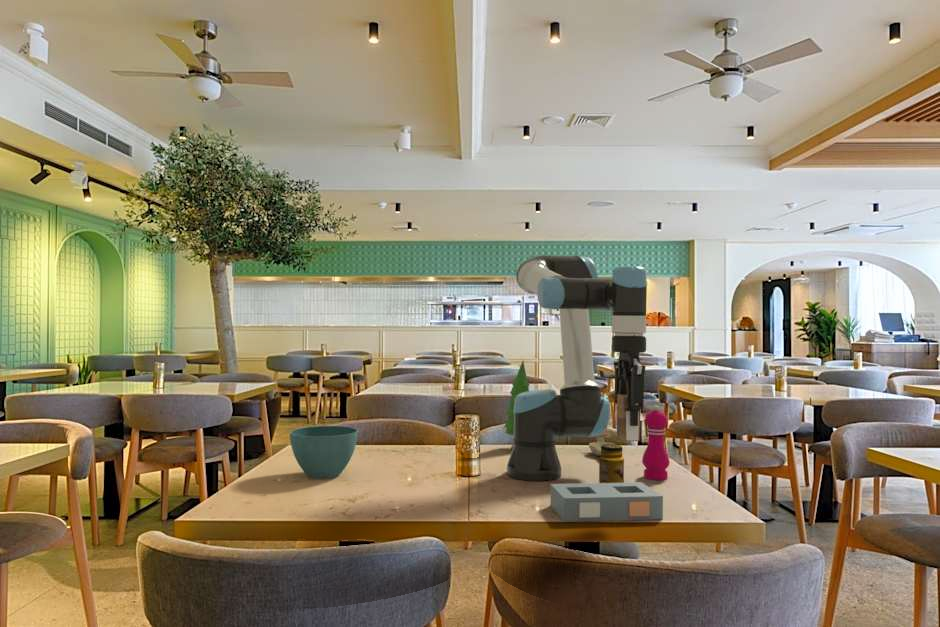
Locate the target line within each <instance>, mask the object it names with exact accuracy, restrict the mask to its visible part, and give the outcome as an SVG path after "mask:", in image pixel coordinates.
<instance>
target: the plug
mask: <svg viewBox="0 0 940 627" xmlns="http://www.w3.org/2000/svg"><path fill="white" fill-rule="evenodd" d="M626 408H628V404H627V394H617V404H616V439H618V440H620V441H622V442H628V441H627V440H626V411H625V409H626ZM641 410H642V409H640V411H639V441H638V442H641V416H642V415H641Z"/></svg>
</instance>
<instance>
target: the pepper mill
mask: <svg viewBox="0 0 940 627" xmlns="http://www.w3.org/2000/svg"><path fill="white" fill-rule="evenodd" d="M644 423H645V425H646V426H647V427H646V434H648V443H647V446H646V448H645V451H643V452H644V453H643V455H642V461H641V463H642V465H643V466H644V468H645V469H644V471H643V477H644V478H646V479H647V480H655V481H663V480H667V479H668V470H667V468H669V466H670V457H669V454H668V452H667V450H666V448H665V444H664V437H665V436H664V435H666V428H665V427H666V426H667V424H668V417H667V415H666V414H665V412H663V411H661V410H660V406H659V405H657V404H655V405H653V407H652V410H651V411H649V412H647V413H646V414H645V417H644Z"/></svg>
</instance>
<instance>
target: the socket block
mask: <svg viewBox="0 0 940 627" xmlns="http://www.w3.org/2000/svg"><path fill="white" fill-rule="evenodd" d="M549 504H550V507H551V508H552V510H554V511H555V513H556V514H557V515H558V517H559V518H560V519H561V520H562V521H563V523H566V522H569V523H571V522H610V521H611V522H612V521H642V520H643V521H645V520H647V521H648V520H649V521H651V520H653V521H654V520H664V514H663V513H664V512H663V511H664V496H663V495H662V494H660V493H659V492H658V491H656V490H654V489H653V488H651V487H650V486H648V485H646V484H645V483H644V482H641V481H640V482H639V481H637V482H636V481H634V482H624V483H599V482H594V483H593V482H587V483H585V482H584V483H550V502H549Z"/></svg>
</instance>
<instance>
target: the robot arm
mask: <svg viewBox="0 0 940 627" xmlns="http://www.w3.org/2000/svg"><path fill="white" fill-rule="evenodd" d="M515 277H516V278H515V279H516V282H517V285H518V286H519V288H521V290H523V291H524V292H525V293H528V294H531V295H536V296H537V302H538V305H539V306H540V307H541V308H542V309H548V310H549V309H550V310H559V324H560V336H561V350H562V351H561V352H562V363H563V364H562V366H563V378H564V384H563V385H562V386H561V388H560V389H559V394H557V392H556V390H554V389H536V390H529V391H527V392H523V393H520V394H518V395H517V396H516V397H515V400H514V410H513V413H514V435H513V443H514V446H513V450H512V449H511V453H510V456H509V459H508V463H507V467H506V474H507V476H509V477H511V478H513V479H517V480H524V481H535V482H536V481H537V482H538V481H539V482H541V481H542V482H543V481H552V480H556V479H559V478H560V477H562V465H561V461H560V459H559V456H558V452H557V450H556V449H557V448H556V438H557V437H561V438H563V437H567V438H568V437H586V438H590V437H589V436H599V435H601V434H603V433H604V432H605V430H606V428H607V429H608V425H609V423H610V422H609V421H610V416H611V402H610V400H609V396H608V395H606V394H605V393H602V388H601V386H600V385H599V384H598V383H597V382H596V380H595V379H596V378H595V370H594V357H593V348H592V347H593V345H592V336H591V335H592V334H591V323H590V311H589V310H604V311H612V313H611V314H612V315H611V333H612V334H614V335H613V336H612V337H611V349H612V352H614V353H619V354H618V360H617V361H616V360H615V361H613V368H614V369H613V370H614V403H615V404H616V405H617V394H627V404H628V408H626V409H625V411H626V440H627V441H626V442H640V441H639V411H640V409H641V410H644V405H645V404H644V401H645V399H644V395H645V372H646V364H641V359H640V354H644V353H646V352H647V337H646V336H645V335H644V334H646V333H647V325H648V324H649V323H648V322H649V321H648V320H647V292H648V291H647V290H648V281H647V271H646V269H645V268H644V267H642V266H635V265H634V266H633V265H632V266H627V265H626V266H616V267H614V269H613V270H612V277H611V278H600V277H599V275H598V270H597V267H596V264H595V262H594V261H593V260H592V259H591V258H590V257H587V256H579V255H546V254H545V255H543V254H542V255H537V256H531V257H529V258H527V259H526V260H524V261H523V262H521V264H520V265H519V267H518V268H517V271H516V275H515Z"/></svg>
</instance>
